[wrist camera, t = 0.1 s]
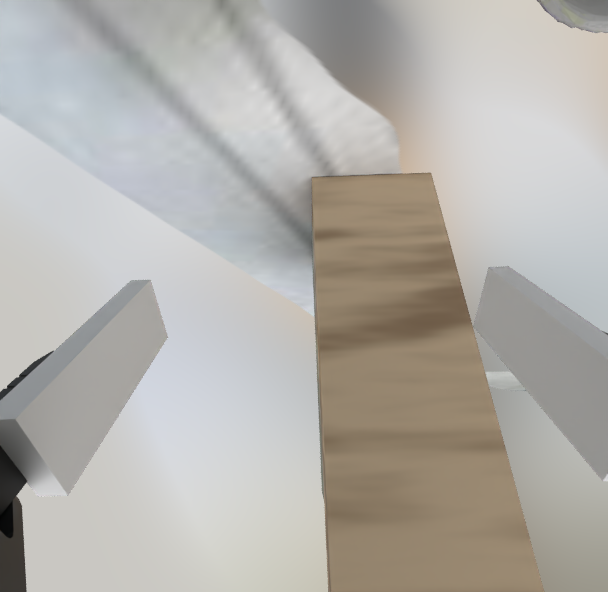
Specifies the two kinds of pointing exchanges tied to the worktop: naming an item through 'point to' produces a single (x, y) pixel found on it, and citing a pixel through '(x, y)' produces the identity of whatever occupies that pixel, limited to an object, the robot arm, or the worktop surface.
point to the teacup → (579, 13)
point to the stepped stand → (406, 402)
